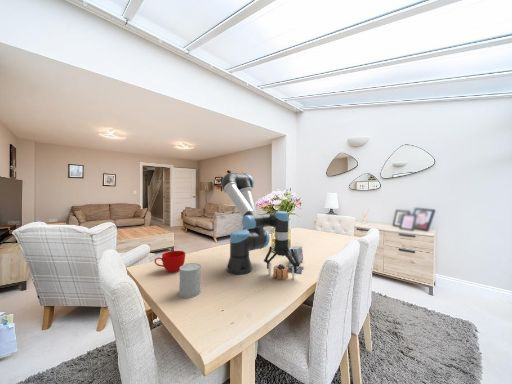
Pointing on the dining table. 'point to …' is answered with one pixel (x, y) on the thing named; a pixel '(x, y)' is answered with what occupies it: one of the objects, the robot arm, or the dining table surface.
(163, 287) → the dining table surface
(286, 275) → the collar
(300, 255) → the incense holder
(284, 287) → the dining table surface
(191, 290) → the grey cylinder
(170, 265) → the ceramic cup
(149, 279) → the dining table surface
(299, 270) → the hub
